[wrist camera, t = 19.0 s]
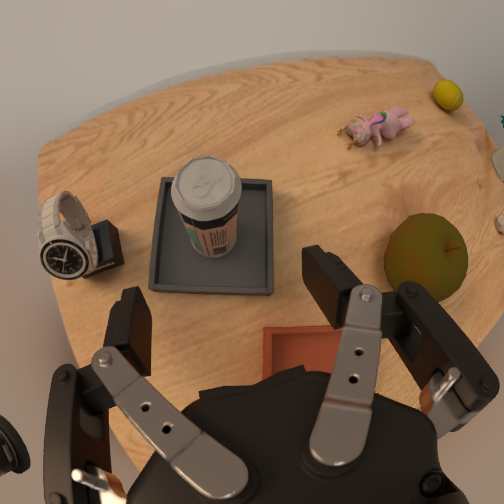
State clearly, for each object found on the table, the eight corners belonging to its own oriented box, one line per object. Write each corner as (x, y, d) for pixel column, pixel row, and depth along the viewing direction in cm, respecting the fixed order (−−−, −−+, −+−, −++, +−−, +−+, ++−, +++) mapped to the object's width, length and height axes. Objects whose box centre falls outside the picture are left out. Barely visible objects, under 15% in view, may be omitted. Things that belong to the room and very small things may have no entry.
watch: (87, 294, 26) (28, 279, 16) (77, 230, 28) (25, 193, 17) (129, 280, 27) (79, 257, 17) (115, 215, 29) (72, 168, 18)
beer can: (243, 226, 29) (254, 165, 17) (225, 266, 28) (222, 226, 16) (203, 208, 29) (190, 141, 17) (183, 247, 28) (154, 197, 16)
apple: (438, 273, 31) (496, 254, 20) (401, 324, 28) (465, 319, 18) (398, 216, 32) (450, 180, 21) (354, 261, 30) (409, 232, 19)
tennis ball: (423, 94, 41) (438, 74, 34) (435, 91, 42) (450, 73, 35) (445, 118, 40) (462, 99, 33) (455, 114, 41) (472, 96, 34)
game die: (495, 234, 34) (506, 229, 31) (492, 215, 35) (502, 210, 32) (503, 237, 34) (513, 232, 31) (500, 219, 35) (510, 214, 32)
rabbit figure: (352, 164, 35) (418, 135, 35) (364, 142, 29) (433, 116, 29) (328, 131, 36) (396, 107, 36) (336, 106, 30) (408, 86, 30)
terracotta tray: (261, 426, 24) (264, 434, 22) (263, 327, 27) (266, 327, 25) (357, 415, 25) (366, 420, 23) (361, 323, 28) (370, 323, 26)
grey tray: (154, 291, 27) (148, 289, 25) (165, 186, 30) (161, 177, 28) (270, 295, 28) (273, 293, 26) (269, 189, 31) (272, 179, 29)
